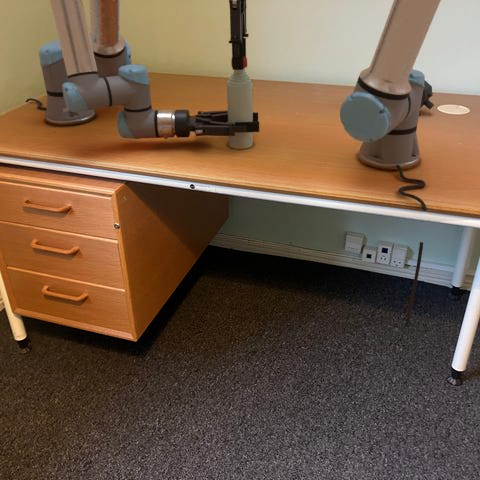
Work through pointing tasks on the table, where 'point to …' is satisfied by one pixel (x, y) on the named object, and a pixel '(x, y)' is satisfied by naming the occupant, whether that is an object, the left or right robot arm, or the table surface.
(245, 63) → the cap
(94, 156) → the table surface
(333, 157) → the table surface
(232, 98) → the bottle
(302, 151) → the table surface
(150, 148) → the table surface
